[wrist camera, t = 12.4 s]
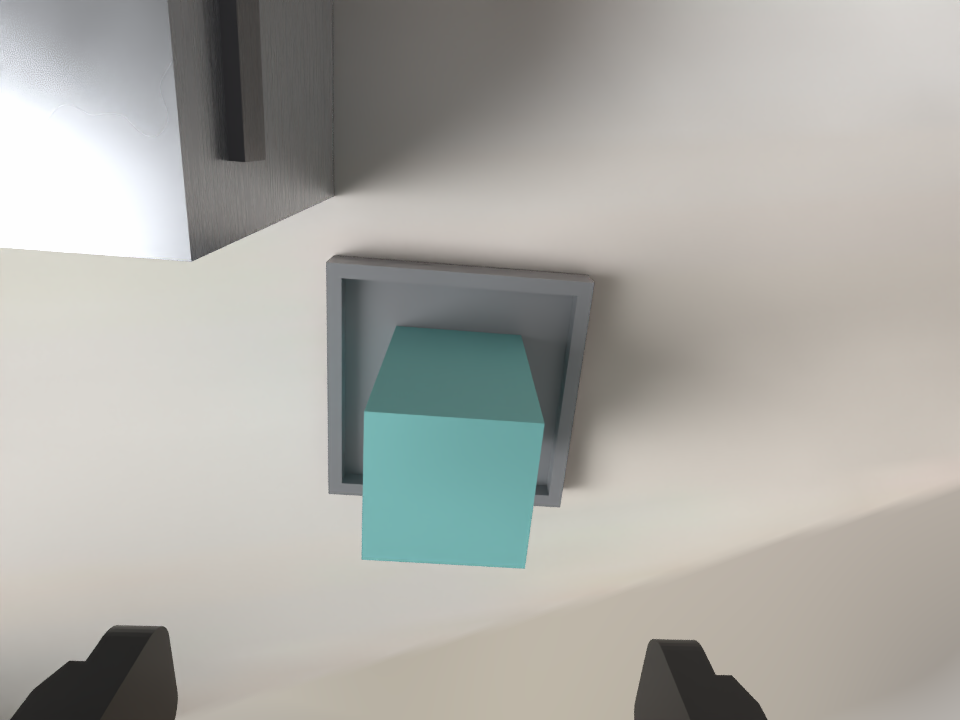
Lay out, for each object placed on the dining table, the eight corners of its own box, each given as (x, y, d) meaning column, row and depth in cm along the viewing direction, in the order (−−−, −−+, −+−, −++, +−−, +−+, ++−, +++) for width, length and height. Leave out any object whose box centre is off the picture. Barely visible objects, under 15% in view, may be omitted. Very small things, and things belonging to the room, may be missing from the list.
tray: (555, 490, 24) (560, 507, 23) (335, 476, 24) (328, 493, 23) (587, 275, 21) (594, 282, 20) (333, 255, 21) (326, 262, 20)
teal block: (508, 445, 23) (524, 568, 16) (392, 437, 23) (361, 559, 16) (521, 335, 21) (544, 423, 15) (396, 325, 21) (364, 411, 15)
